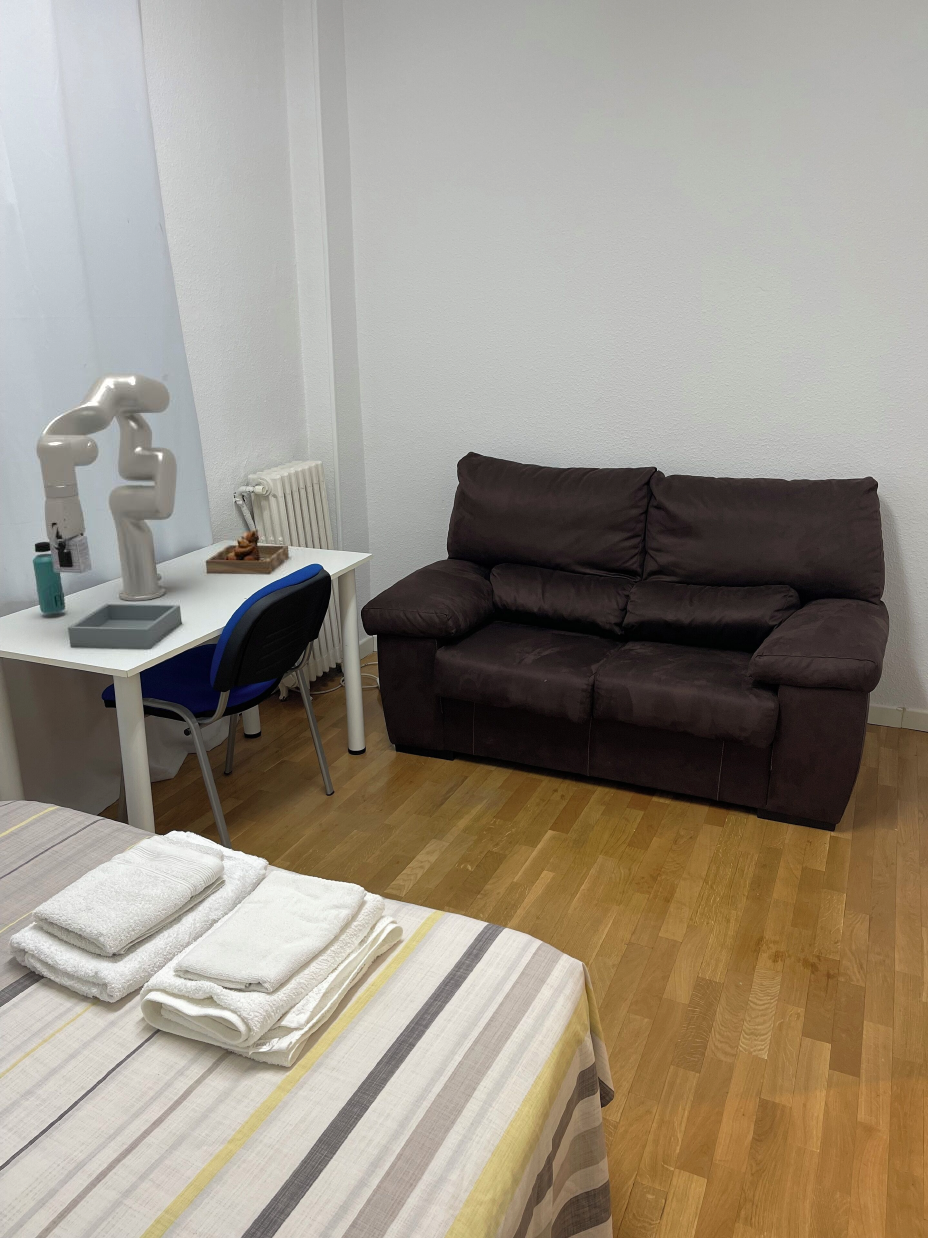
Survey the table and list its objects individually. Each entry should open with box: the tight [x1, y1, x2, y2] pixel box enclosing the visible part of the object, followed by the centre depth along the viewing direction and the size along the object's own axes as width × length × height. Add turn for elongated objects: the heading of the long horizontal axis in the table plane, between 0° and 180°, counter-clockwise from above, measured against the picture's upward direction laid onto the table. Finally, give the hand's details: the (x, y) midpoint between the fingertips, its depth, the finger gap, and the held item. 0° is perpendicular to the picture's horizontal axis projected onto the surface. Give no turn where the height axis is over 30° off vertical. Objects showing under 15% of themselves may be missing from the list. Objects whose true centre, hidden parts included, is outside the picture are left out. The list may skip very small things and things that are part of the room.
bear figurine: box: [224, 529, 269, 561], centre depth 304 cm, size 14×15×12 cm
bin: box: [67, 603, 183, 650], centre depth 242 cm, size 20×20×5 cm
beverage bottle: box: [32, 541, 66, 614], centre depth 257 cm, size 6×7×20 cm
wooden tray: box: [205, 544, 290, 575], centre depth 308 cm, size 21×20×4 cm
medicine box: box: [48, 535, 92, 574], centre depth 239 cm, size 8×4×9 cm, turn 78°
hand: (72, 563), depth 240 cm, fingers closed on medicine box, 4 cm apart
